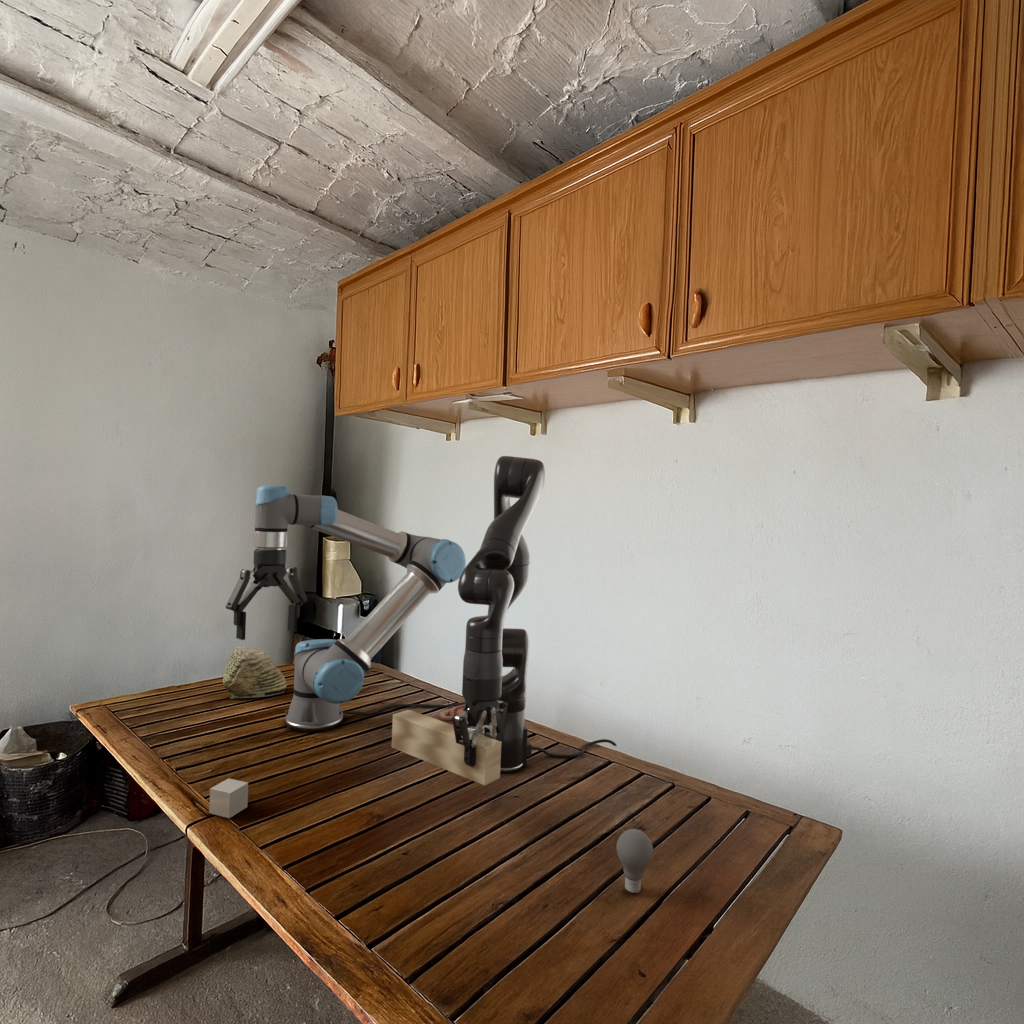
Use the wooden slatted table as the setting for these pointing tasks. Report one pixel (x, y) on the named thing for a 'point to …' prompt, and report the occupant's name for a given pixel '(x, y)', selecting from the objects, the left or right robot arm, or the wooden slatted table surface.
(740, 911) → the wooden slatted table surface
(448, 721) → the anatomical model
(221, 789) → the grey block
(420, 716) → the ash bar
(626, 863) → the light bulb
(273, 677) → the fossil
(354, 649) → the left robot arm
